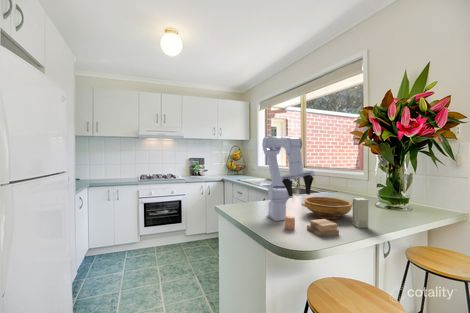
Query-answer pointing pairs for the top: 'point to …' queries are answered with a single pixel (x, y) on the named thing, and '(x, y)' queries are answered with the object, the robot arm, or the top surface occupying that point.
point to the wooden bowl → (328, 206)
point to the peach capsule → (289, 223)
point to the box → (360, 212)
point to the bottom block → (322, 234)
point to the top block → (323, 225)
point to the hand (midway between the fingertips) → (299, 195)
